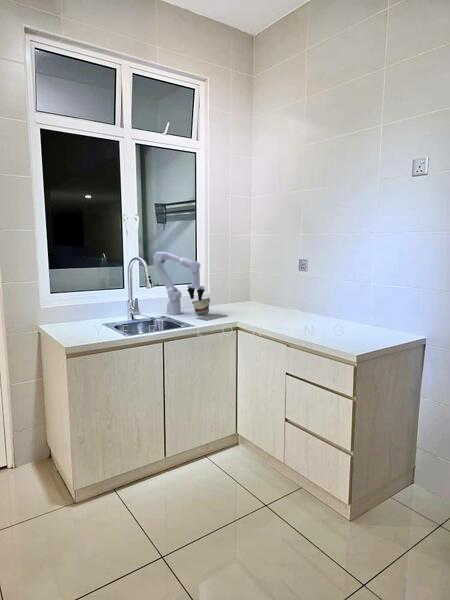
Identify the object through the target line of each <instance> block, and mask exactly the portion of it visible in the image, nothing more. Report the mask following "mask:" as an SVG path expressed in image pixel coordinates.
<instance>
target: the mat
mask: <svg viewBox="0 0 450 600" xmlns="http://www.w3.org/2000/svg"><path fill="white" fill-rule="evenodd" d="M225 317H229V315H227V314H221V313H216V314H215V313H214V314H210V315H205V316H204V315H203V316H200V317H195V319H197V320H200V321H201V320H202V321H212V320H216V319H222V318H225Z"/></svg>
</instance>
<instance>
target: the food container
mask: <svg viewBox="0 0 450 600" xmlns="http://www.w3.org/2000/svg"><path fill="white" fill-rule="evenodd" d="M210 302H211V299H210V297H207V298H202V299H201V300H199V299H198V300H193V301H192V304H193V309H194V313H195V314H196V315H198V316H204V315H205V316H206V315H207V314H208V313H209V311H210Z"/></svg>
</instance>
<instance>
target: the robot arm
mask: <svg viewBox="0 0 450 600" xmlns="http://www.w3.org/2000/svg"><path fill="white" fill-rule="evenodd" d="M167 260H170V261H174V262H177V263H179V264H180V265H181V266H183V267H185V268H188V269H190V273H191V274H190V276H191V277H190V278H191V281H190V282H191V284H188V285H187V286H186V287H187V289H186V291H187V292H188V293H189V297H190V299H191V300H193V299H194V298H195V291H196V292H197V299H198V300H201V299H203V295H204V293H205V286H203V285H201V278H200V277H201V276H200V275H201V274H200V268H201V263H200V262H199V261H197V260H194V259H191V258H190V259H189V258H188V256H184V257H179V256H177V255H175V254H173V253H171V252H167V251H157V252H155V253H154V255H153V263H154V264H153V266H154V269H155V271H156V272H157V274H158V276H159V278H160V279H161V281H162V283H163V285H164V286H165V289H166V290H167V291H166V293H167V295H168V299H169V300H168V301H167V303H166V310H167V311H166V314H167V315H174V316H175V315H176V316H177V315H180V314H181V315H182V314H184V311H183V312H182V309H181V308H182V307H181V297H182V292H181V291H180V290H178V288H177V287H176V286H175V285H174V283H173V282H172V279H171V277H170V275H168V273H167V271H166V270H165V268H164V264H165V262H166V261H167Z"/></svg>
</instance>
